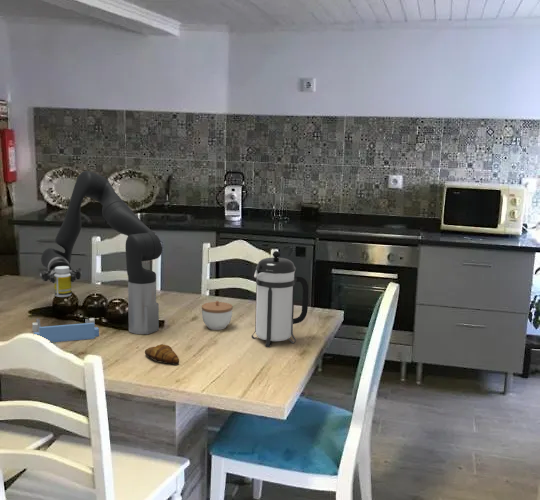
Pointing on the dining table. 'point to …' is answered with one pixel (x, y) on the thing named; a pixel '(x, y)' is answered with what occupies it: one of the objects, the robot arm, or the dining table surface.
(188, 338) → the dining table surface
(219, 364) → the dining table surface
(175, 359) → the croissant
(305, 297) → the coffee press
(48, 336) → the blue pegged rail
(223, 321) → the lidded jar
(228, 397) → the dining table surface
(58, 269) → the supplement bottle
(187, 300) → the dining table surface
